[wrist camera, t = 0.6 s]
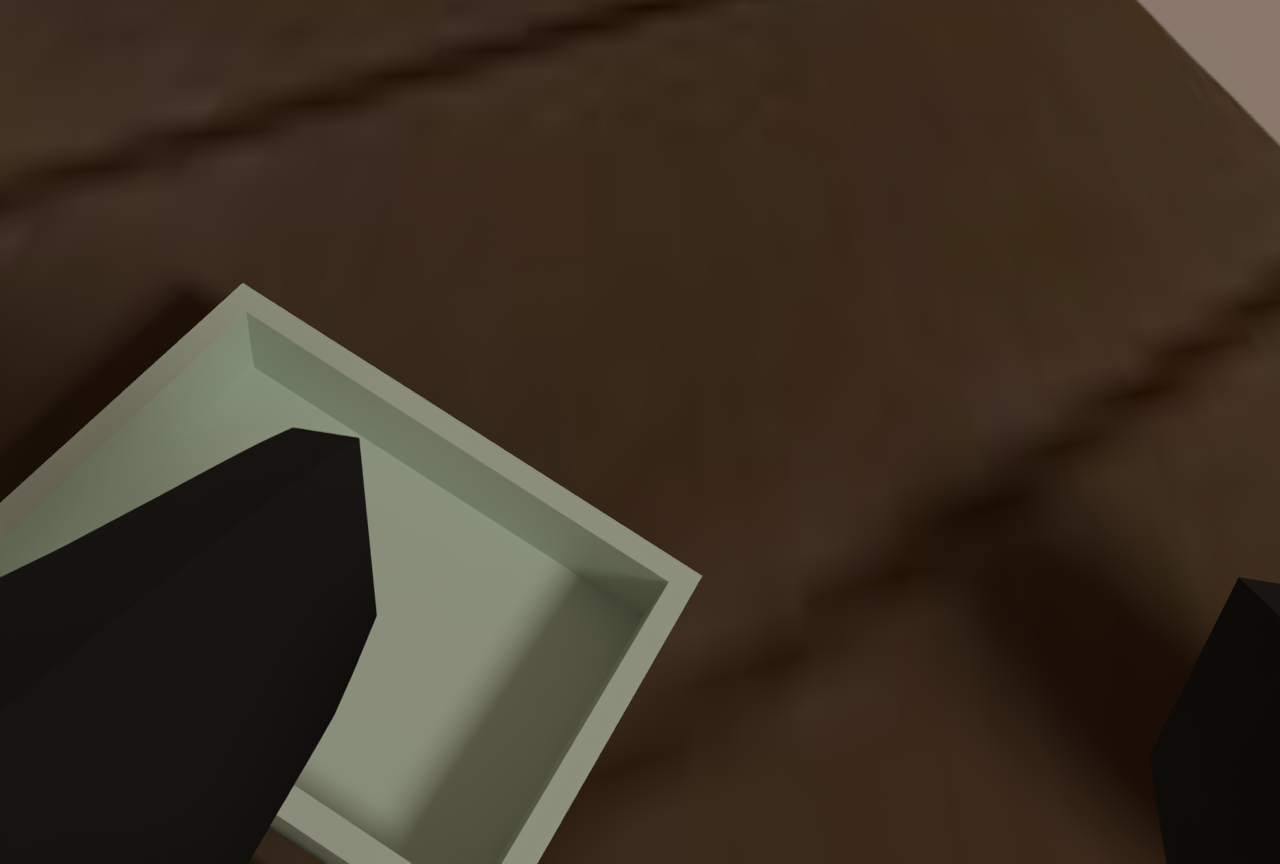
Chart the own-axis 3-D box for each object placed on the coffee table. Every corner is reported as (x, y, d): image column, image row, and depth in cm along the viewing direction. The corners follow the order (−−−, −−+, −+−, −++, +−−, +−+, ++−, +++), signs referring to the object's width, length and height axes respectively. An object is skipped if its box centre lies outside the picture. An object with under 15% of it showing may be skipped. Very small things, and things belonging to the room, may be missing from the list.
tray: (468, 961, 22) (484, 955, 19) (-33, 624, 22) (-80, 575, 20) (667, 617, 27) (702, 575, 24) (252, 350, 27) (242, 282, 25)
